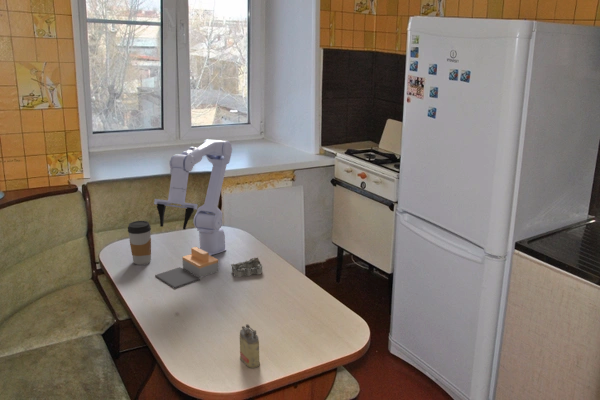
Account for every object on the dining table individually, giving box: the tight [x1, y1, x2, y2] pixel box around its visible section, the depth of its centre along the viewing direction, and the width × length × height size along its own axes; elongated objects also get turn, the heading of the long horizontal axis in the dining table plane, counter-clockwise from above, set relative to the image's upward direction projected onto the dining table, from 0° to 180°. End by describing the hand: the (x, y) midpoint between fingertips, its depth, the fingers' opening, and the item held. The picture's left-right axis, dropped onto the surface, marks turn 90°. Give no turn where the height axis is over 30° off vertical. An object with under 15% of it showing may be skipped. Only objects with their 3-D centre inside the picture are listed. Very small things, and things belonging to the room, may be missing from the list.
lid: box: [182, 246, 219, 269], centre depth 206 cm, size 8×11×5 cm
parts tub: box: [182, 259, 220, 279], centre depth 207 cm, size 8×11×4 cm
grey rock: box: [230, 256, 264, 278], centre depth 205 cm, size 11×8×4 cm
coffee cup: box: [127, 220, 152, 266], centre depth 212 cm, size 8×8×15 cm
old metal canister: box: [239, 323, 261, 369], centre depth 150 cm, size 7×4×10 cm, turn 34°
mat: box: [154, 266, 201, 289], centre depth 200 cm, size 10×13×1 cm
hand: (172, 227), depth 197 cm, fingers open, 7 cm apart
